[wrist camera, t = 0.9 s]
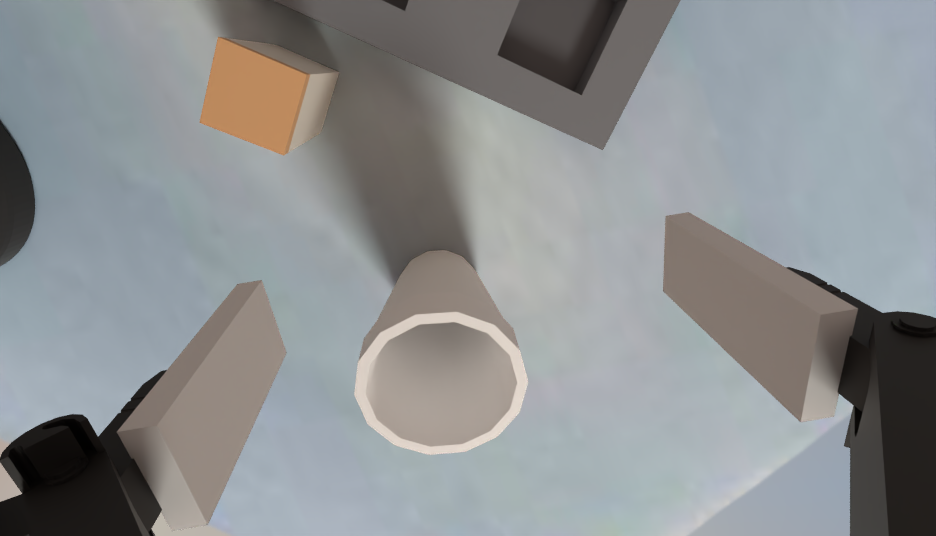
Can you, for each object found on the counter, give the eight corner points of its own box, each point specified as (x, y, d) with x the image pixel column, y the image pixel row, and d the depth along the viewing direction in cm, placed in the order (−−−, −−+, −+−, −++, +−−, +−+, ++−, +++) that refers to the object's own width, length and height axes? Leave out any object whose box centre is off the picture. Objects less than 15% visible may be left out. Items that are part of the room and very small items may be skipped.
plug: (259, 107, 32) (199, 122, 24) (275, 44, 31) (218, 36, 23) (320, 132, 33) (283, 155, 25) (339, 72, 32) (306, 74, 23)
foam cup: (464, 209, 36) (479, 281, 24) (517, 305, 39) (554, 410, 27) (355, 267, 37) (319, 363, 25) (416, 355, 41) (410, 477, 29)
